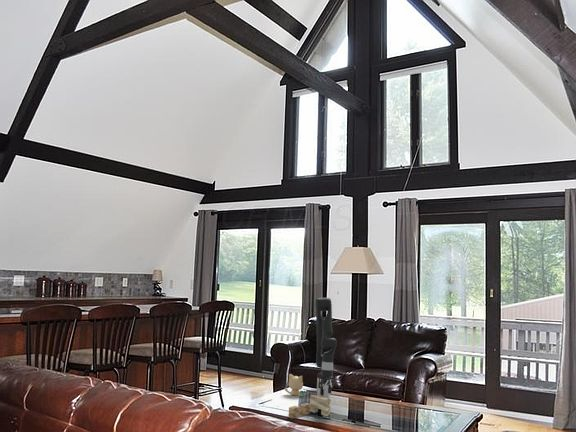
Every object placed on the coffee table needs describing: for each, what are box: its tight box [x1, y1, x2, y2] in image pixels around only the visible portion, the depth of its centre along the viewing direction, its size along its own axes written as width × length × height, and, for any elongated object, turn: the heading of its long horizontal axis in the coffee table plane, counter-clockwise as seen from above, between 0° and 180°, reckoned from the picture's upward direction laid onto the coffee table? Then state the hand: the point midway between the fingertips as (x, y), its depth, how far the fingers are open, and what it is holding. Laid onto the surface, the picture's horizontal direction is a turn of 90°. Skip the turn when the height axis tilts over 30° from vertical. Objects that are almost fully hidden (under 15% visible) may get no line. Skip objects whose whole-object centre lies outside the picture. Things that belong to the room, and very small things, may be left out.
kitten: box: [284, 373, 306, 398], centre depth 383 cm, size 15×10×15 cm, turn 66°
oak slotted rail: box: [287, 402, 311, 419], centre depth 329 cm, size 18×4×6 cm, turn 141°
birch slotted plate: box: [309, 394, 331, 417], centre depth 338 cm, size 4×14×10 cm, turn 51°
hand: (325, 394), depth 336 cm, fingers open, 8 cm apart
